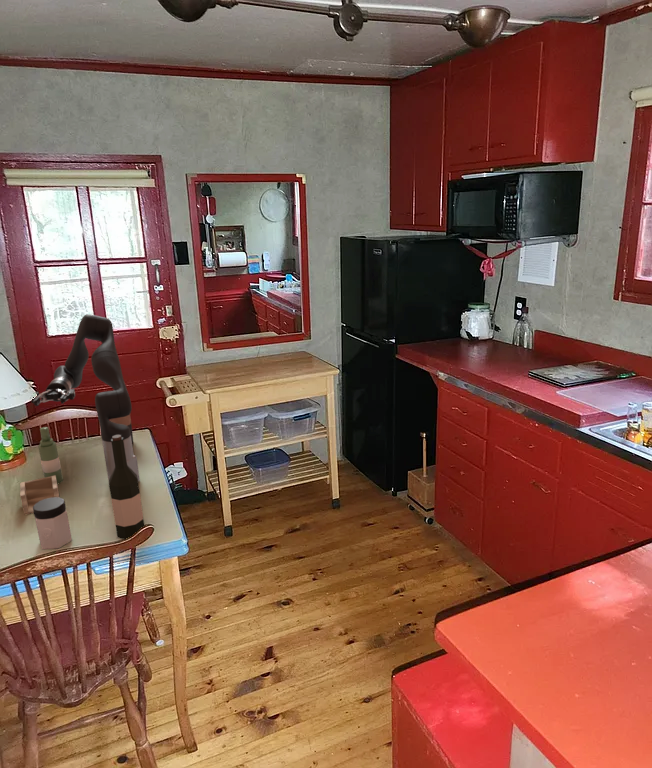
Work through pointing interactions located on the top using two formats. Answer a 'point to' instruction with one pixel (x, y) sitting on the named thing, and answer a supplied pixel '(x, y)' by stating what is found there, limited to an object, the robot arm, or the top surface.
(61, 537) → the jar
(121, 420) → the travel mug
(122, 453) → the wine bottle
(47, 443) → the green bottle
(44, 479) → the cradle
